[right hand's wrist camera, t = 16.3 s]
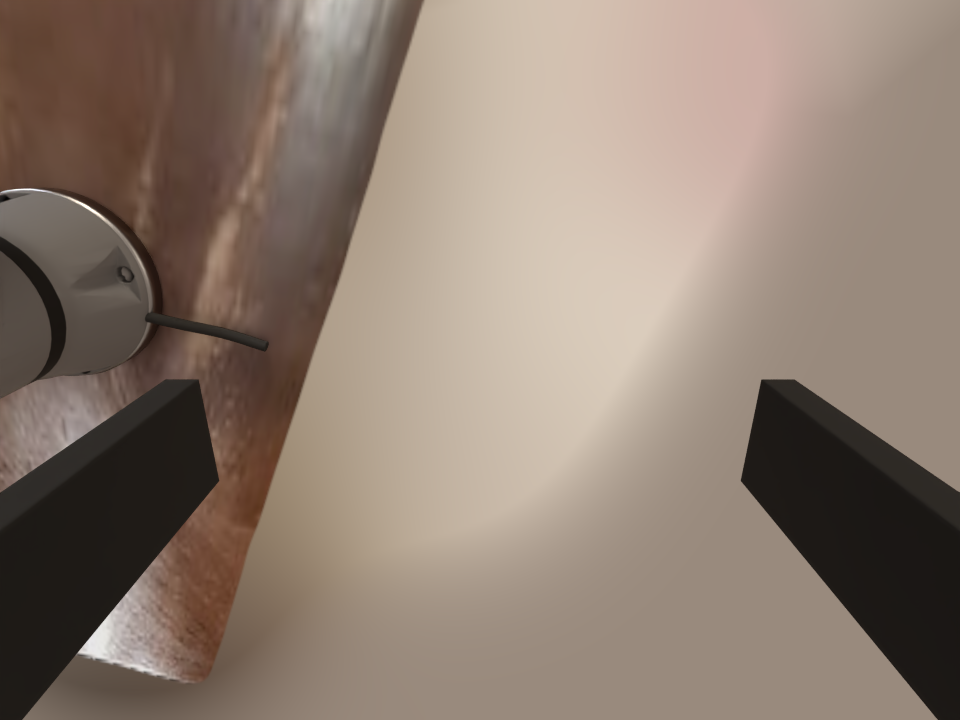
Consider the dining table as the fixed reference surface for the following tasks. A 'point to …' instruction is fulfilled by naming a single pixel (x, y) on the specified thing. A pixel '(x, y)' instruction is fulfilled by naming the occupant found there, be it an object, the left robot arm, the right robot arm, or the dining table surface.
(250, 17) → the dining table surface
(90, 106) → the dining table surface
